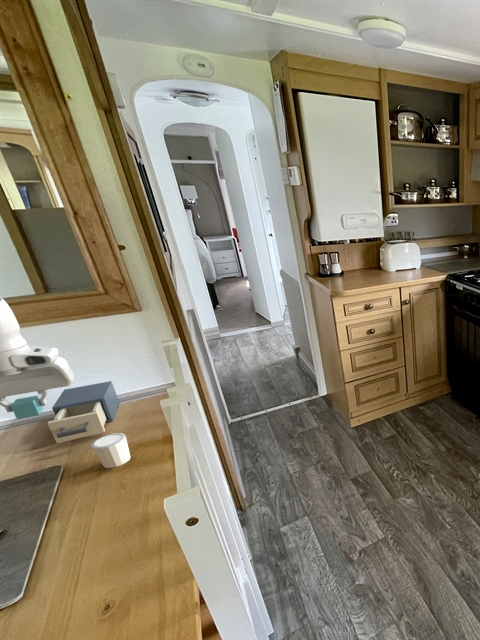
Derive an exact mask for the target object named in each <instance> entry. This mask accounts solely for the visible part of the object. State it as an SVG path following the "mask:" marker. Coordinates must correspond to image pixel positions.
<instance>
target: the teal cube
mask: <svg viewBox="0 0 480 640" xmlns="http://www.w3.org/2000/svg"><path fill="white" fill-rule="evenodd" d="M38 398H40V396H39V394H38V395H37V394H36V395H32V396H25V397H21V398H20V397H19V398H16V399H14V401H13V402H11V403H12V405H11V408H12V410H13V414H14V416H15V419H16V420H22V419H27V418H32V417H37V416H40V415H41V414H42V412H43V411H44V410H45V406H40V407H38V406H37V404H36V402H35V401H36V400H37V399H38Z"/></svg>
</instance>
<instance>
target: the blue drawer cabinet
mask: <svg viewBox="0 0 480 640" xmlns="http://www.w3.org/2000/svg"><path fill="white" fill-rule="evenodd" d="M113 384H114V383H113V382H112V380H110V381H105V382H100V383H99V382H98V383H94V384H93V383H91V384H88V385H87V384H86V385H82V386H76V387H71V388H65V389H63V391H62V392H61V393H60V395H59V397H58V398H57V400H56V401H55V402H54V404H53V406H52V407H51V409H52V411H53V413H54V415H55V416H56V415H57V413H58V412H59V410H60V409H61V408H66V407H71V406H76V405H82V404H87V403H92V402H97V401H102V403H103V406H104V408H105V411H106V413H107V419H106V421H105V424H106V423H111V422H114V419H115V418H116V414H117V412H116V410H117V411H118V409H117V407H118V408H119V406H120V400H119V398H118V395H117V392H116V390H115V387H114V385H113ZM118 405H119V406H118ZM55 416H54V417H55Z"/></svg>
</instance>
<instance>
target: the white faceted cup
mask: <svg viewBox="0 0 480 640" xmlns="http://www.w3.org/2000/svg"><path fill="white" fill-rule="evenodd" d="M90 447H91V448H92V450H93V451H94V453H95V455H96V456H97V458H98V460H99V461H100V464H102V466H103V468H105V469H113V468H117V467H120V466H123V465H124V464H125V463H127V462H129V461H130V460H131V454H130V449H129V445H128V440H127V436H126V434H125V433H122V432H115V433H110V434H106V435H104V436H102V437H101V436H100V437H99V438H97V439H96V440H94V441H93V442H92V443H91V445H90Z"/></svg>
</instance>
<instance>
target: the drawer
mask: <svg viewBox="0 0 480 640" xmlns="http://www.w3.org/2000/svg"><path fill="white" fill-rule="evenodd" d="M106 419H107V413H106V411H105V408H104V406H103V403H102V401H97V402H92V403H87V404H82V405H76V406H71V407H66V408H61V409H60V410H59V412H58V413H57V415H56V416H54V418H53V420H49V421H48V422H47V425H48V427H49V430H50V432H51V435H52V436H53V438H54V440H55V443H56V444H60V443H65V442H68V441H72V440H77V439H82V438H87V437H90V436H94V435H100V434H103V433H105V432H106V429H105V424H106V423H105V421H106Z"/></svg>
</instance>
